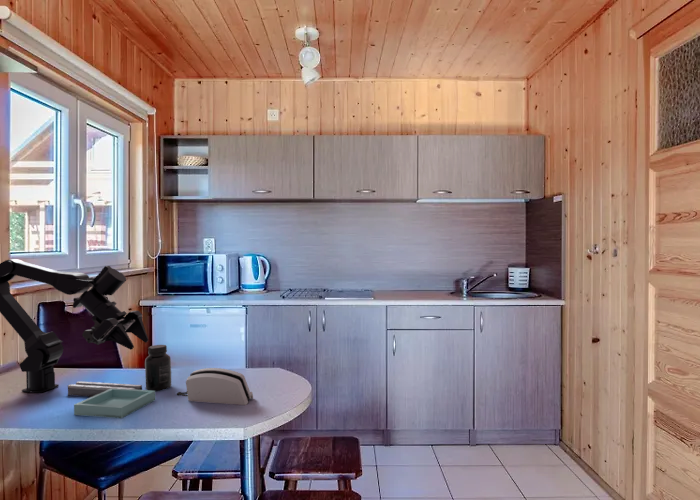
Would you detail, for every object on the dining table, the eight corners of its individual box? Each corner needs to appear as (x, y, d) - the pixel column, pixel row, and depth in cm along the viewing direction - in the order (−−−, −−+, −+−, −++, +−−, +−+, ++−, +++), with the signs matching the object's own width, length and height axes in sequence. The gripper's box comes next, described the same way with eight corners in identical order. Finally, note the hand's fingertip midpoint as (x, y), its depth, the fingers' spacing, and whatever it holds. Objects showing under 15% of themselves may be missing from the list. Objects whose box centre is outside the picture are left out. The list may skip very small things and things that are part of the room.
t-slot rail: (67, 395, 127) (67, 385, 127) (79, 390, 131) (79, 381, 131) (132, 399, 123) (132, 389, 123) (141, 394, 127) (141, 385, 127)
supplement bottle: (171, 383, 137) (170, 342, 137) (171, 390, 130) (170, 347, 130) (146, 386, 134) (145, 344, 134) (144, 393, 128) (144, 349, 128)
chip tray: (74, 414, 112) (74, 404, 112) (112, 397, 125) (112, 388, 125) (121, 418, 109) (121, 407, 109) (155, 400, 122) (155, 390, 122)
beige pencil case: (254, 397, 122) (248, 366, 119) (247, 410, 118) (240, 378, 114) (197, 393, 126) (189, 363, 122) (188, 405, 122) (180, 374, 118)
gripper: (98, 322, 141) (135, 357, 142) (60, 333, 123) (103, 374, 123) (123, 295, 141) (160, 331, 142) (89, 303, 123) (132, 344, 123)
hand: (140, 344), depth 132 cm, fingers open, 9 cm apart
